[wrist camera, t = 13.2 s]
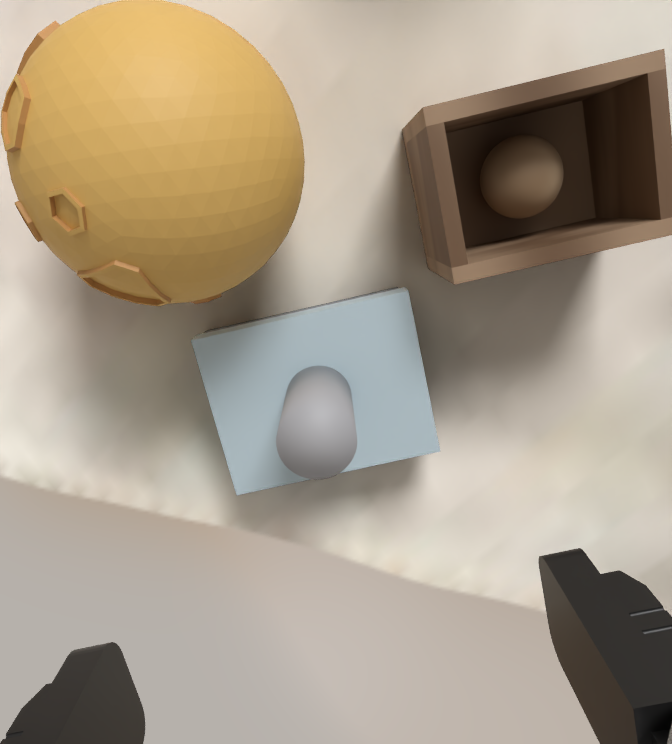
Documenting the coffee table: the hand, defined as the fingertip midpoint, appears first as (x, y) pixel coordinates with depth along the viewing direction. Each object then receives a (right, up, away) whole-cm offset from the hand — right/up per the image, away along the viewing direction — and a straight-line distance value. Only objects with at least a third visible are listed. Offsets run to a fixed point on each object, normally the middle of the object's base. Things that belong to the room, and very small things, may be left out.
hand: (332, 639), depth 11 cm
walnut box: (+7, +13, +15) cm, 22 cm away
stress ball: (-6, +14, +15) cm, 21 cm away
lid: (-1, +4, +16) cm, 17 cm away
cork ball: (+8, +13, +13) cm, 20 cm away
